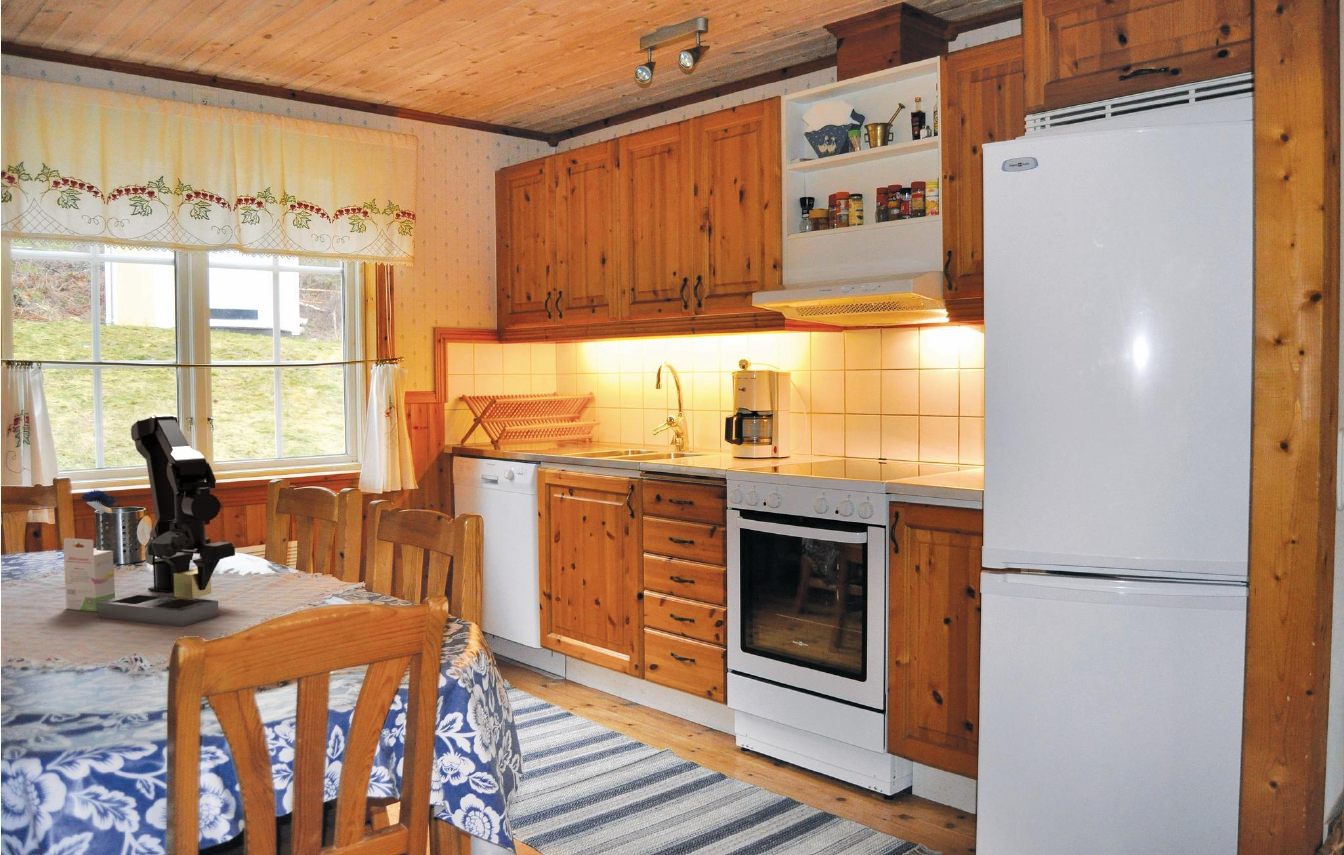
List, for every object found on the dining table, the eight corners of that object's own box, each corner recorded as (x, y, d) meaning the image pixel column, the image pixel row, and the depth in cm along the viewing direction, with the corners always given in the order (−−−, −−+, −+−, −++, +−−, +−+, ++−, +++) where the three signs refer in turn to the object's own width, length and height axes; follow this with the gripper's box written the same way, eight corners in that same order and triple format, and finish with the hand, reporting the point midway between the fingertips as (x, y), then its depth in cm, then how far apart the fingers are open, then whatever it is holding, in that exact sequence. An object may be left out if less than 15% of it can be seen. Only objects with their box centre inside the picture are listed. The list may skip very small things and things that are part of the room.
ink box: (117, 606, 209) (114, 535, 208) (96, 612, 204) (93, 539, 203) (85, 603, 212) (82, 534, 211) (64, 609, 207) (61, 537, 206)
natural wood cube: (174, 596, 212) (173, 573, 212) (193, 591, 217) (192, 568, 217) (192, 598, 211) (191, 574, 210) (211, 593, 215) (210, 570, 215)
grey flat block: (97, 617, 200) (97, 602, 200) (136, 607, 208) (135, 592, 208) (182, 626, 192) (181, 611, 192) (218, 615, 200) (218, 600, 200)
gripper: (124, 519, 209) (127, 594, 209) (193, 523, 202) (196, 600, 203) (168, 512, 219) (171, 583, 220) (235, 516, 212) (238, 589, 213)
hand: (192, 589), depth 214 cm, fingers closed on natural wood cube, 5 cm apart
